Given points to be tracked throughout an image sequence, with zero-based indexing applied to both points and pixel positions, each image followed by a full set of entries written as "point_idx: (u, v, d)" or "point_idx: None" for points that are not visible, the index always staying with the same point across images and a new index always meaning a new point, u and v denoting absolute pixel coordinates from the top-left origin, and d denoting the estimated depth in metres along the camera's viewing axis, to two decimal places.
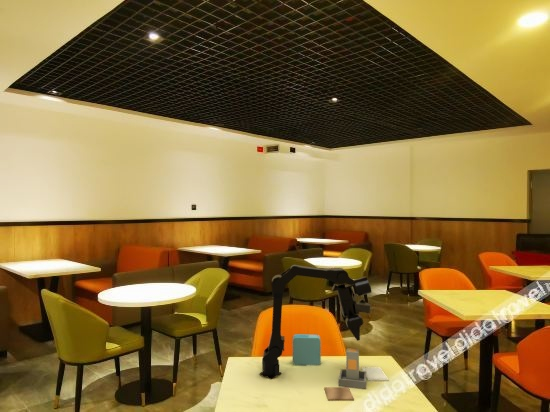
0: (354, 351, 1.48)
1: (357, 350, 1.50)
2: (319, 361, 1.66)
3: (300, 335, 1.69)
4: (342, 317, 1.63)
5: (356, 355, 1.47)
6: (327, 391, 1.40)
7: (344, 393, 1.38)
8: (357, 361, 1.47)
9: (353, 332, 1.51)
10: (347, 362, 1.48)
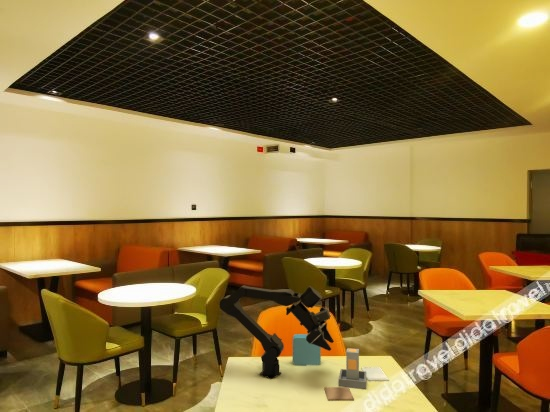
0: (354, 351, 1.48)
1: (357, 350, 1.50)
2: (319, 361, 1.66)
3: (300, 335, 1.70)
4: None
5: (356, 355, 1.47)
6: (327, 391, 1.40)
7: (344, 393, 1.38)
8: (357, 361, 1.47)
9: (320, 345, 1.47)
10: (347, 362, 1.48)
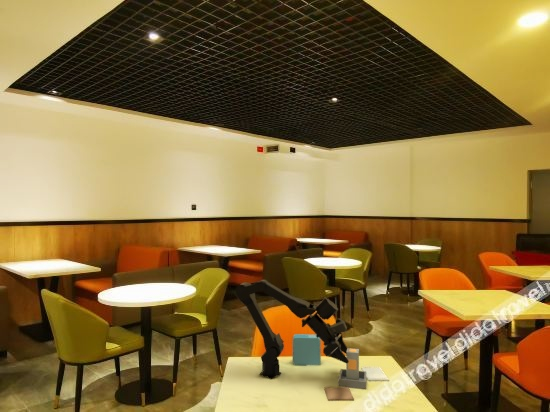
0: (354, 351, 1.48)
1: (357, 350, 1.50)
2: (319, 361, 1.66)
3: (300, 335, 1.70)
4: None
5: (356, 355, 1.47)
6: (327, 391, 1.40)
7: (344, 393, 1.38)
8: (357, 361, 1.47)
9: (337, 358, 1.45)
10: None
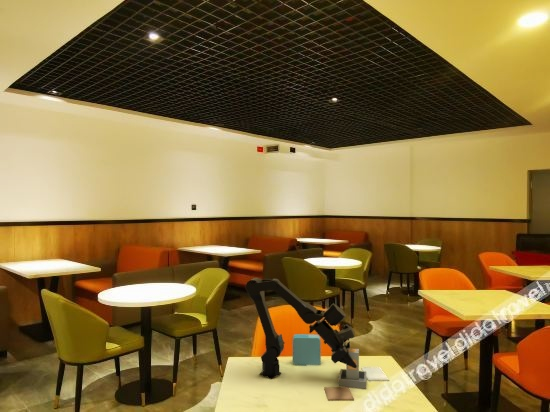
0: (354, 351, 1.48)
1: (357, 350, 1.50)
2: (319, 361, 1.66)
3: (300, 335, 1.70)
4: None
5: (356, 355, 1.47)
6: (327, 391, 1.40)
7: (344, 393, 1.38)
8: (357, 361, 1.47)
9: (346, 362, 1.46)
10: None
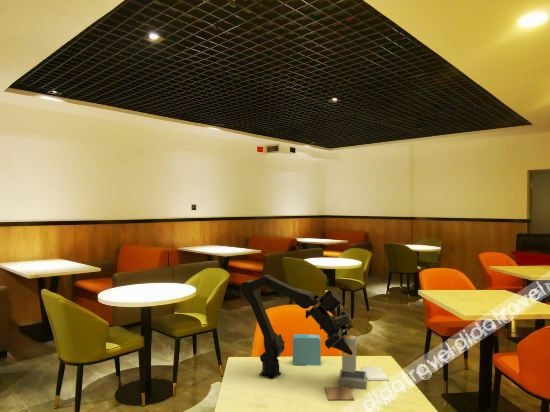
0: (350, 338, 1.44)
1: (354, 337, 1.46)
2: (319, 361, 1.66)
3: (300, 335, 1.70)
4: None
5: (352, 342, 1.43)
6: (327, 391, 1.40)
7: (344, 393, 1.38)
8: (353, 348, 1.43)
9: (341, 349, 1.43)
10: None
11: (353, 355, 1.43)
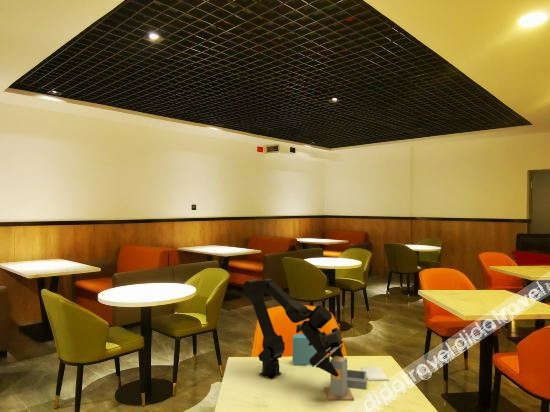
0: (339, 360, 1.38)
1: (344, 359, 1.39)
2: None
3: (300, 335, 1.70)
4: None
5: (340, 364, 1.36)
6: (327, 391, 1.40)
7: None
8: (341, 371, 1.36)
9: (326, 369, 1.35)
10: None
11: (341, 378, 1.36)
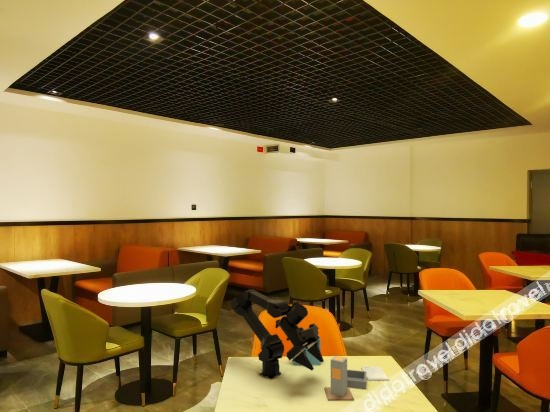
0: (339, 360, 1.38)
1: (344, 359, 1.39)
2: (319, 361, 1.66)
3: None
4: (308, 349, 1.52)
5: (340, 364, 1.36)
6: (327, 391, 1.40)
7: None
8: (341, 371, 1.36)
9: (302, 363, 1.40)
10: (331, 370, 1.38)
11: (341, 378, 1.36)
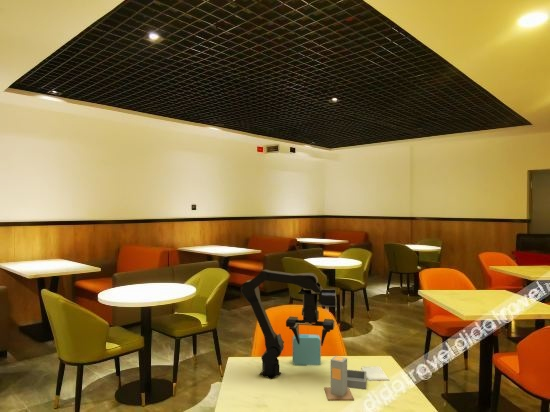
0: (339, 360, 1.38)
1: (344, 359, 1.39)
2: (319, 361, 1.66)
3: (300, 335, 1.70)
4: (293, 328, 1.53)
5: (340, 364, 1.36)
6: (327, 391, 1.40)
7: None
8: (341, 371, 1.36)
9: (324, 337, 1.52)
10: (331, 370, 1.38)
11: (341, 378, 1.36)
